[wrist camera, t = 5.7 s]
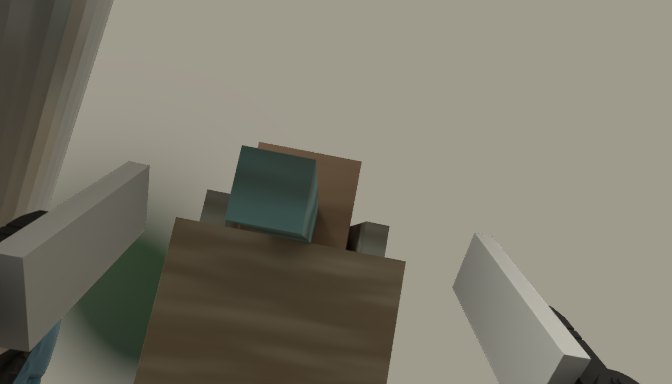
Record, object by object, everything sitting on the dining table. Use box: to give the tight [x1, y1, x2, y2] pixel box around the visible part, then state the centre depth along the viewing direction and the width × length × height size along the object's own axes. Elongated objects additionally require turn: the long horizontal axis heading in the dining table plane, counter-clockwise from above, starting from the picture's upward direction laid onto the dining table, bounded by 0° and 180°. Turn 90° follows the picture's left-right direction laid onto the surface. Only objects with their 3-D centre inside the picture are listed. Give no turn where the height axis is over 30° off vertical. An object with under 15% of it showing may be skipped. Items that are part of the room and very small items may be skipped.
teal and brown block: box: [225, 142, 361, 250], centre depth 23 cm, size 20×7×6 cm, turn 2°
